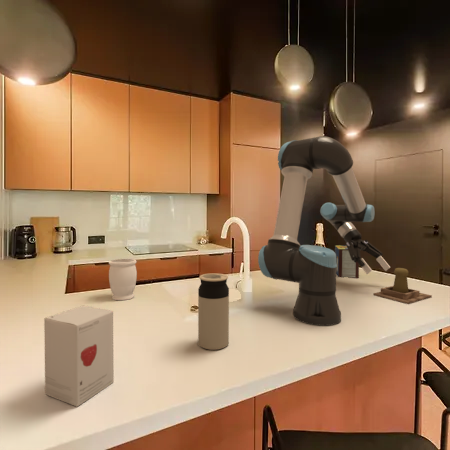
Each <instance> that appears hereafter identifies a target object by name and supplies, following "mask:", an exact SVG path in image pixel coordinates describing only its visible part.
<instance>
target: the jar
mask: <svg viewBox="0 0 450 450" xmlns="http://www.w3.org/2000/svg"><path fill="white" fill-rule="evenodd" d="M136 264H137V260H136V259H134V258H120V259H119V258H118V259H112V260H108V265H109V269H108V280H109V281H108V282H109V288H110V291H111V293H112V296H111V298H112V299H111V300H114V301H127V300H132V299H133V298H135V294H134V291H135V289H136V283H137V276H138V275H137V274H138V272H137V265H136Z"/></svg>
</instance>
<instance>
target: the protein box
mask: <svg viewBox="0 0 450 450" xmlns="http://www.w3.org/2000/svg"><path fill="white" fill-rule="evenodd" d="M334 247H335V248H334V252H335V254H336V263H337V267H336V277H337V278H344V277H348V278H349V279H359V277H360V275H359V274H360V265H359V263H358V262H356V263H355V262H354V261H353V260H352V259H351V257H350V254H349V251H348V248H347V246H346V245H334ZM353 257H354V256H353ZM348 278H347V279H348Z"/></svg>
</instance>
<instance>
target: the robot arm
mask: <svg viewBox="0 0 450 450" xmlns="http://www.w3.org/2000/svg"><path fill="white" fill-rule="evenodd" d="M277 161H278V163H277V165H278V168H279V170H280V171H281V174H282V176H283V177H284V178H283V182H282V183H283V184H282V188H281V194H280V199H279V203H278V209H277V214H276V219H275V220H276V221H275V224H274V225H275V226H274V230H273V235H272V236H271V237H269V238H268V240H267V245H266V244H265V245H263V246H262V247H261V248H260V250H259V252H258V256H257V257H258V258H257V260H258V261H257V263H258V266H259V269H260V272H261V273H262V275H263V276H264V277H266V278H269V279H273V280H275V281H276V280H280V281H285V282H291V283H297V284H298V294H297V298H296V300H295V304H294V306H293V309H292V312H293V313H292V315H293V318H295V319H296V320H298V321H300V322H302V323H305V324H309V325H314V326H331V325H332V326H333V325H336V324H339V323H340V322H341V321H342V313H341V309H340V307H339V303H338V299H337V296H336V295H337V274H336V267H337V263H336V254H335V250H333V249H331V248H327V247H324V246H319V245H313V244H311V245H310V244H302V245H301V244H300V242H299V240H298V237H299V229H300V225H301V219H302V213H303V212H302V211H303V206H304V200H305V196H306V195H305V194H306V189H307V185H308V184H307V182H308V180H309V179H311V178H312V176H313V173H314V170H321V169H324V170H326V172H327V174H328V175H331V176H332V177H333V180H334V182H335V184H336V186H337V187H336V188H337V189H338V191H339V193H340V195H341V198H342V200H343V202H344V204H335V203H332V202H325V203H323V204H322V206H321V207H320V210H319V212H320V215H321V216H322V218H323V219H325V220H326V221H327V222H329V223H330V224H331V225H332V227H334V229H335V230H337V231H336V232H338V234H339V235H340V237H341V238H342V239H343V240H344V241H345V246H347V248H348V251H349V254H350V257H351V259H352V260H353V261H354V262H355V263H356V262H358V263H359V267H361V268H362V269H363V271H364V273H366V275H368V274H370V273H371V272H372V271H373V270H372V268H371V267H370V266H369V264H368V263H367V262H366V261H365V259H364V258H363V257H361V255H362V254H361V251H363V252H366V253H368V254H369V255H371V256H372V257H374V258H376V259H375V260H376V262H378V264H379V265H380V266H381V267H382V269H383V270H384V271H385V272H387V271H389V270H390V268H391V266H390V265H389V263H388V262H387V261H386V260H385V259H384V257H382V256H383V255H384V253H383V252H382V251H381V250H380V249H378V248H377V247H376V246H374V245H373V244H372V243H371V242H370V241H368V239H365V240H363V239H362V234H361V232H360V231H359V230H358V229H357V228H356V227H355V225H354V224H353V223H352V222H354V223H355V222H356V223H370V222H372V221H374V219H375V214H376V213H375V207H374V205H372V204H368V203H366V202H365V198H364V195H363V193H362V190H361V188H360V184H359V183H358V180H357V176H356V175H355V171H354V168H353V166H354V161H353V157H352V155H351V153H350V152H349V150H348V148H346V147H345V146H344V145H343V144H342V143H341V142H340V141H338V140H336V139H334V138H332V137H329V136H327V135H326V136H325V135H319V136H317V137H315V136H314V137H309V138H304V139H295V140H294V139H293V140H290V141H287V142H284V143H283V144H282V146H280V148H279V150H278V154H277ZM353 256H354V257H353Z"/></svg>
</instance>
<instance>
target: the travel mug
mask: <svg viewBox="0 0 450 450" xmlns="http://www.w3.org/2000/svg"><path fill="white" fill-rule="evenodd" d="M199 279H200V285H199V287H198V290H197V291H198V292H197V293H198V298H197V299H198V302H197V303H198V304H197V305H198V307H197V308H198V311H197V312H198V315H197V317H198V320H197V321H198V324H197V326H198V330H197V331H198V336H197V337H198V339H197V341H198V343H197V345H198V346H199V347H201V348H203V349H205V350H209V351H218V350H220V349H224V348H225V347H227V346H229V343H230V342H229V341H230V340H229V338H230V337H229V334H230V333H229V332H230V331H229V329H230V327H229V326H230V325H229V322H230V319H229V318H230V316H229V315H230V311H229V310H230V306H229V305H230V303H229V302H230V288H229V286H228V285H227V281H228V279H229V276H228V275H227V274H225V273H224V274H223V273H215V272H214V273H204V274H201V275H199Z"/></svg>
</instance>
